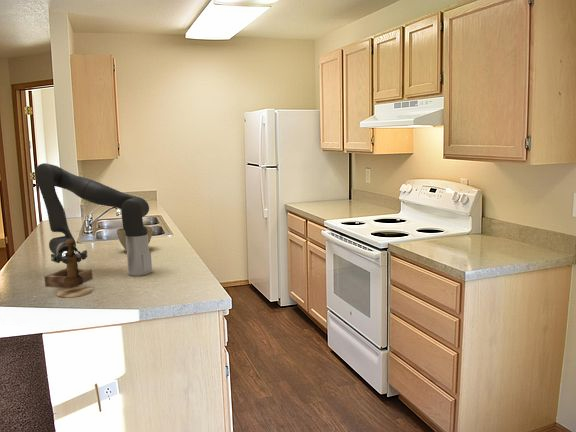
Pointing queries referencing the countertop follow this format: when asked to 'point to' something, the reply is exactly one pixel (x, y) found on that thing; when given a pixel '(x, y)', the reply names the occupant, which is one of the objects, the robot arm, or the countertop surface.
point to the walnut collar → (58, 277)
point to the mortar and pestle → (72, 267)
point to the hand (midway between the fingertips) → (72, 260)
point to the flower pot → (122, 235)
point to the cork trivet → (74, 291)
